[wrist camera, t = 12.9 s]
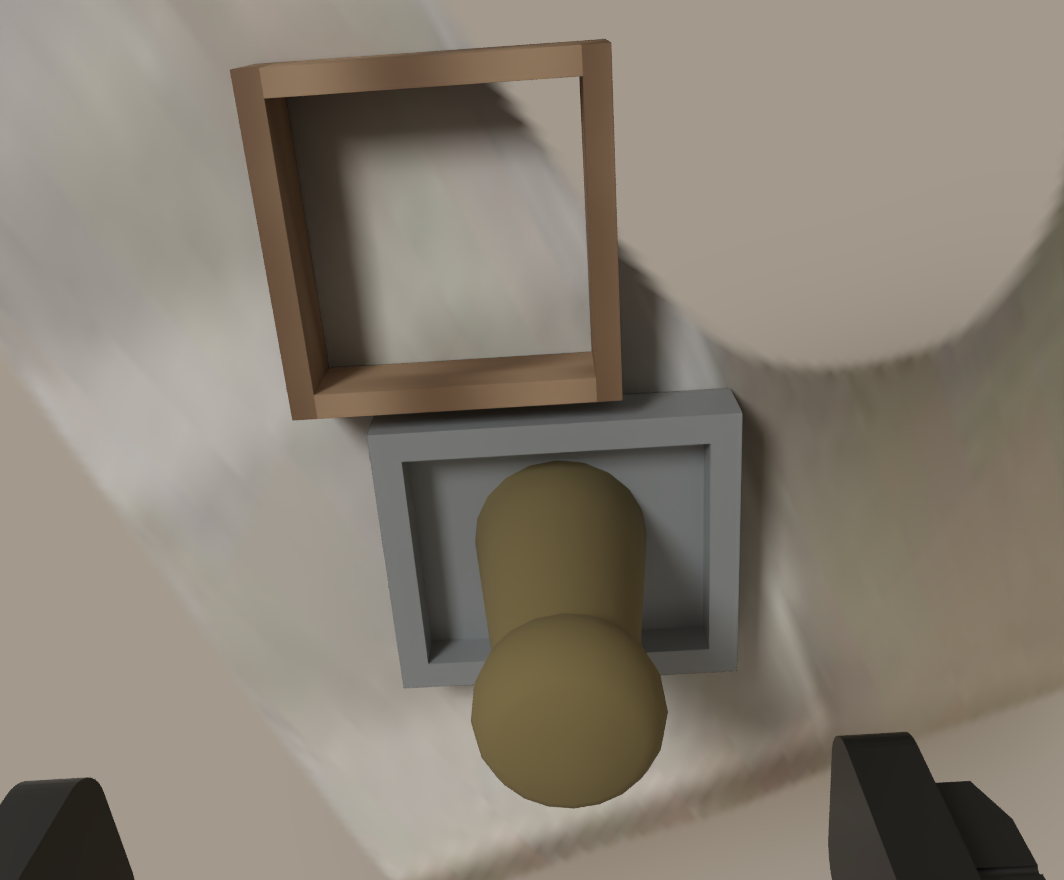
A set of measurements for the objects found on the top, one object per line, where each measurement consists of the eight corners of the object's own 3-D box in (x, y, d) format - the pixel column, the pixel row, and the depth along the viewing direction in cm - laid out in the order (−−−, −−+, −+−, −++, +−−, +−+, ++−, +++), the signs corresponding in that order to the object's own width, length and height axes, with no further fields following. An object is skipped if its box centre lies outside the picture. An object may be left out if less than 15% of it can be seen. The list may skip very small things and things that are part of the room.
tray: (730, 388, 33) (742, 413, 31) (726, 634, 38) (737, 670, 36) (376, 409, 34) (366, 435, 32) (410, 651, 38) (403, 688, 36)
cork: (680, 515, 35) (740, 726, 24) (584, 636, 37) (602, 878, 27) (534, 428, 33) (534, 615, 23) (443, 560, 35) (406, 783, 25)
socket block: (605, 39, 29) (610, 42, 27) (616, 372, 33) (622, 400, 31) (253, 64, 29) (229, 69, 27) (308, 391, 34) (292, 420, 31)
